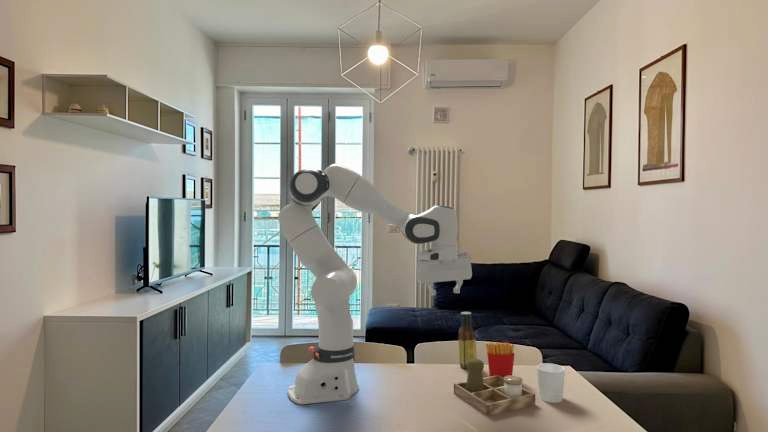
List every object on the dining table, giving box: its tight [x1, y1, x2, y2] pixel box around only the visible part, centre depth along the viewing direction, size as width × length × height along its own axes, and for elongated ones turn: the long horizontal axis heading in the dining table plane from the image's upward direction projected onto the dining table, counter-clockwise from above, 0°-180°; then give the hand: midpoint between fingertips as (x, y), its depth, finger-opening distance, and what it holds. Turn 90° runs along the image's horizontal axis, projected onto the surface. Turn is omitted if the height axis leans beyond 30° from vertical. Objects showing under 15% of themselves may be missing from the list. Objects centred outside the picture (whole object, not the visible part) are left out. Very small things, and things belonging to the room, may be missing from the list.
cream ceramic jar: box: [504, 374, 523, 398], centre depth 140 cm, size 5×5×7 cm
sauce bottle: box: [458, 311, 478, 370], centre depth 172 cm, size 7×6×20 cm
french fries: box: [485, 342, 515, 378], centre depth 158 cm, size 9×4×13 cm, turn 86°
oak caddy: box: [453, 375, 536, 417], centre depth 142 cm, size 17×17×4 cm
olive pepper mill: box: [466, 358, 485, 393], centre depth 144 cm, size 6×6×11 cm
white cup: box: [536, 362, 566, 404], centre depth 142 cm, size 8×8×10 cm
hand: (444, 294), depth 159 cm, fingers open, 8 cm apart
